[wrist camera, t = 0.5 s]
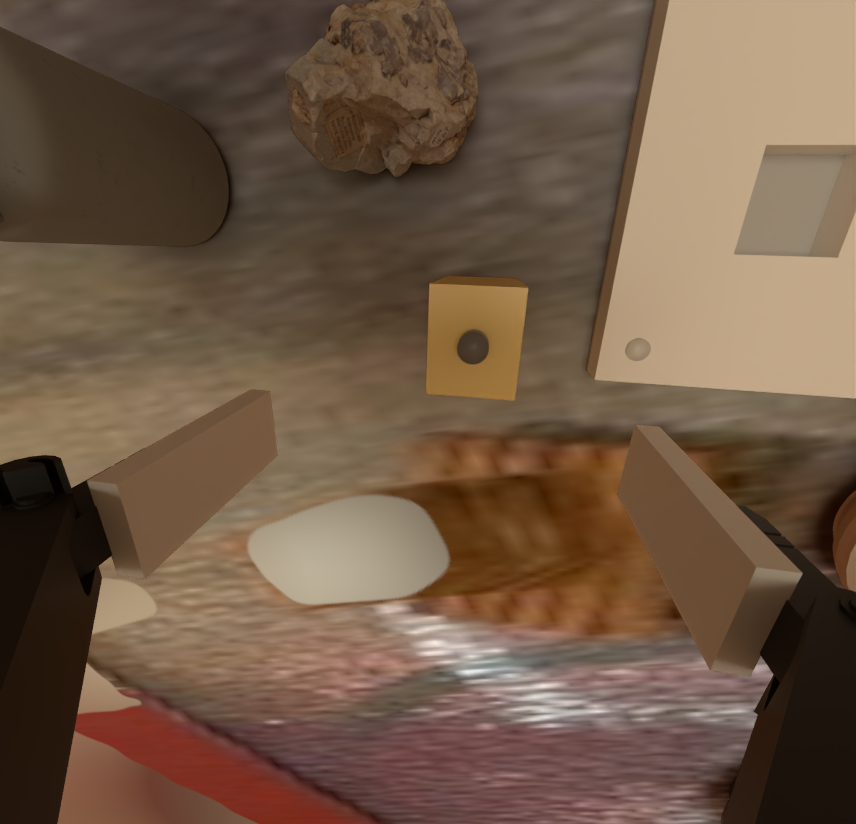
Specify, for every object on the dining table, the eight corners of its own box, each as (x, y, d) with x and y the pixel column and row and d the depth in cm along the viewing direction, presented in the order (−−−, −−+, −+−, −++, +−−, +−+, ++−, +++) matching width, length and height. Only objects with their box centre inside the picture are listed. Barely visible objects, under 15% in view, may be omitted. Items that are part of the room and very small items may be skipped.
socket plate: (658, -20, 24) (686, -67, 20) (1057, -41, 21) (1166, -98, 18) (585, 369, 32) (596, 382, 29) (859, 387, 30) (906, 404, 27)
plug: (451, 273, 31) (425, 285, 19) (515, 276, 31) (530, 289, 19) (447, 348, 34) (422, 400, 21) (507, 352, 33) (516, 408, 21)
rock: (480, 159, 31) (524, -8, 21) (400, 262, 27) (408, 118, 18) (382, 103, 31) (381, -84, 22) (291, 197, 28) (242, 23, 18)
